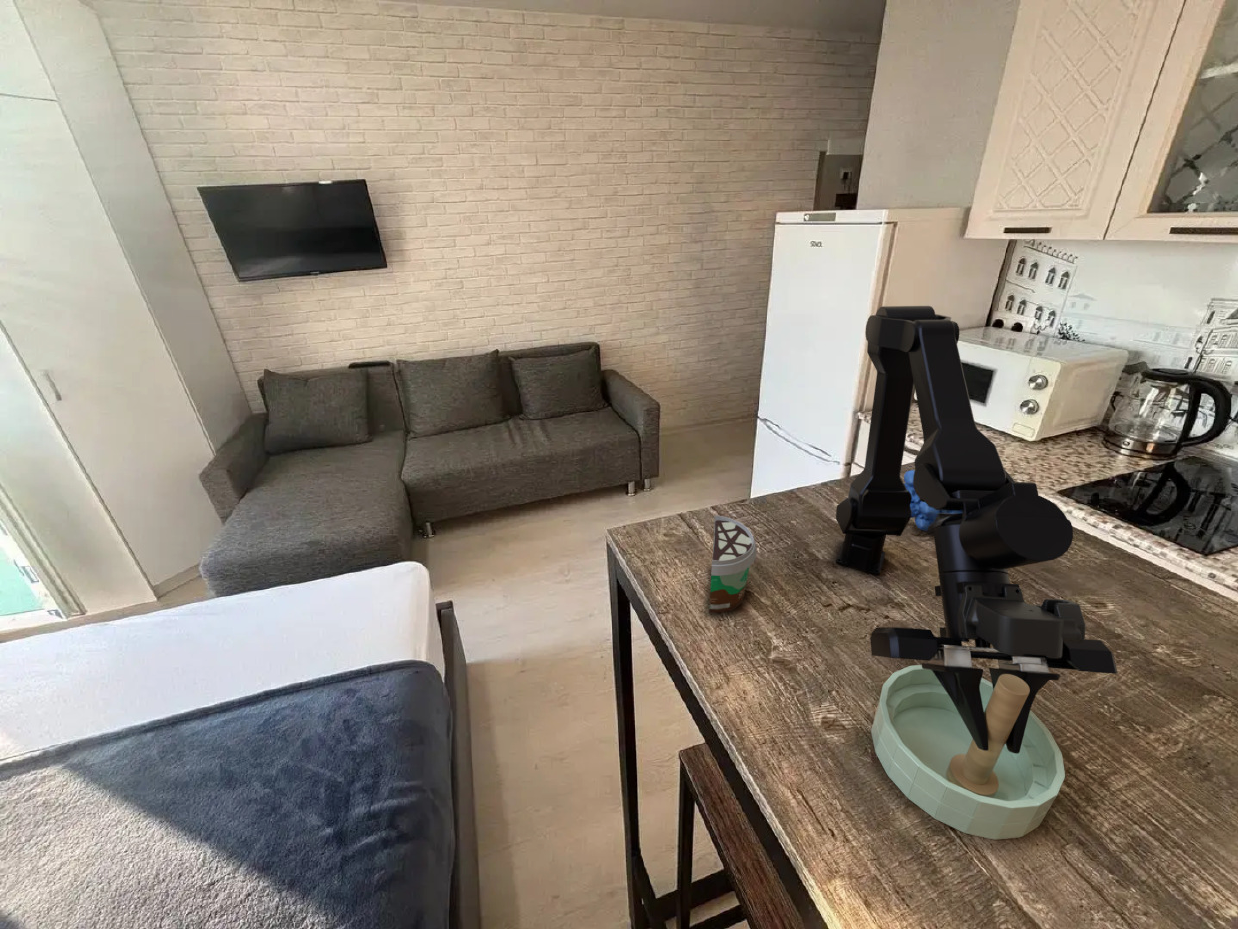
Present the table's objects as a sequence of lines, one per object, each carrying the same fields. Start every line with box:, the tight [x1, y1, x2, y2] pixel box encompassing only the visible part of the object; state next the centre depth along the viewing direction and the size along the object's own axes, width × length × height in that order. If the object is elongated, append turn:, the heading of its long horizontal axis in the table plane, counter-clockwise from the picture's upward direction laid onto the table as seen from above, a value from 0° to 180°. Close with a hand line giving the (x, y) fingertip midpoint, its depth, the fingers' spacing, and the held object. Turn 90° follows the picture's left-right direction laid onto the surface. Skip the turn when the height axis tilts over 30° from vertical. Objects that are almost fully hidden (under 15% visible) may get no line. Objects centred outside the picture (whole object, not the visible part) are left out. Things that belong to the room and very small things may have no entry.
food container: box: [708, 514, 758, 614], centre depth 74 cm, size 12×6×10 cm, turn 168°
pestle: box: [946, 674, 1030, 798], centre depth 47 cm, size 4×4×14 cm
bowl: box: [870, 664, 1066, 841], centre depth 51 cm, size 15×15×6 cm
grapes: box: [903, 469, 962, 532], centre depth 86 cm, size 12×7×12 cm, turn 51°
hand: (998, 751), depth 46 cm, fingers closed on pestle, 2 cm apart
